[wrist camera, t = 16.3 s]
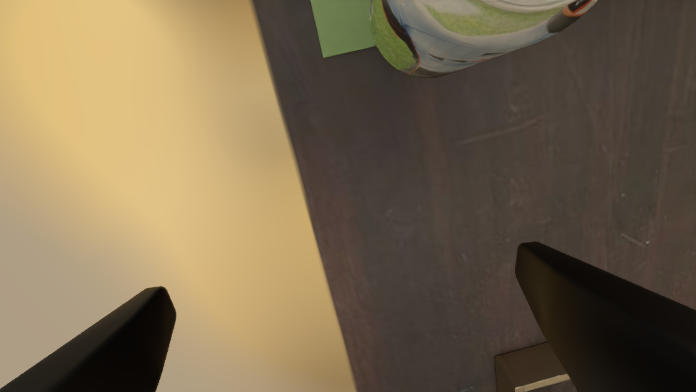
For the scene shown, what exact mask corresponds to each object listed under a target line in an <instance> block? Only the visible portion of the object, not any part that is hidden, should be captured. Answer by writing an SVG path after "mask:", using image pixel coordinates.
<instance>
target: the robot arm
mask: <svg viewBox="0 0 696 392" xmlns="http://www.w3.org/2000/svg"><path fill="white" fill-rule="evenodd" d="M515 274H516V278H517V280H518V282H519V285H520V287H521V289H522V291H523V293H524V295H525V297H526V299H527V302H528V304H529V306H530V308H531V310H532V312H533V314H534V317H535V319H536V321H537V323H538V325H539V327H540V329H541V331H542V333H543V335H544V336H545V338H546V340H547V341H548V343H549V345H550V346H551V348H552V350H553V351H554V353H555V355H556V356H557V358H558V360H559V361H560V363H561V364H562V366H563V368H564V369H565V371H566V373H567V374H568V376H569V378H570V379H571V381H572V383H573V384H574V386H575V387H576V389H577V391H578V392H696V310H694V309H692V308H689V307H687V306H685V305H682V304H680V303H678V302H675V301H673V300H671V299H669V298H666V297H664V296H662V295H659V294H657V293H655V292H652V291H650V290H648V289H645V288H643V287H641V286H638V285H636V284H634V283H632V282H629V281H627V280H625V279H622V278H620V277H618V276H615V275H613V274H611V273H608V272H606V271H604V270H601V269H599V268H597V267H595V266H592V265H590V264H588V263H585V262H583V261H581V260H578V259H576V258H574V257H571V256H569V255H567V254H565V253H562V252H560V251H558V250H555V249H553V248H551V247H548V246H546V245H544V244H541V243H539V242H527V243H521V244H520V245H519V246H518V250H517V258H516V266H515ZM175 321H176V310H175V308H174V305H173V303H172V301H171V299H170V296H169V294H168V292H167V290H166V288H164V287H162V286H161V287H152V288H147V289H145V290H143V291H142V292H140V293H139V294H137V295H136V296H134V297H133V298H132V299H130V300H129V301H127V302H126V303H124V304H123V305H121V306H120V307H118V308H117V309H116V310H114V311H113V312H111V313H110V314H108V315H107V316H105V317H104V318H102V319H101V320H100V321H98V322H97V323H95V324H94V325H92V326H91V327H89V328H88V329H87V330H85V331H84V332H82V333H81V334H79V335H78V336H76V337H75V338H73V339H72V340H71V341H69V342H68V343H66V344H65V345H63V346H62V347H60V348H59V349H57V350H56V351H55V352H53V353H52V354H50V355H49V356H47V357H46V358H44V359H43V360H41V361H40V362H39V363H37V364H36V365H34V366H33V367H31V368H30V369H28V370H27V371H25V372H24V373H23V374H21V375H20V376H19V377H17V378H15V379H14V380H12V381H11V382H10V383H8V384H7V385H5V386H4V387H2V388H1V389H0V392H155V391H156V389H157V386H158V383H159V380H160V377H161V374H162V371H163V367H164V363H165V360H166V356H167V352H168V348H169V344H170V340H171V337H172V333H173V329H174V325H175Z"/></svg>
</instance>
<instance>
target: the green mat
mask: <svg viewBox="0 0 696 392" xmlns="http://www.w3.org/2000/svg"><path fill="white" fill-rule="evenodd" d="M370 4H371V0H311V5H312V9H313V14H314V18H315V23H316V27H317V32H318V36H319V41H320V45H321V50H322V54H323V58H326V57H330V56H334V55H339V54H343V53H347V52H352V51H356V50H361V49H365V48H369V47H374V46H376V43H375V41H374V39H373V36H372V31H371V27H370V15H369V14H370Z"/></svg>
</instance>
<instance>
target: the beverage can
mask: <svg viewBox="0 0 696 392" xmlns="http://www.w3.org/2000/svg"><path fill="white" fill-rule="evenodd" d="M597 1H598V0H371V4H370V14H369V15H370V27H371V31H372V36H373V39H374V41H375V43H376V46H377V48H378V49H379V51H380V53H381V54H382V56H383V57H384V58H385V59H386V60H387V61H388V62H389V63H390V64H391V65H392V66H394V67H395V68H396V69H397V70H399V71H401V72H403V73H405V74H407V75H411V76H414V77H420V78H434V77H439V76H443V75H447V74H450V73H452V72H455V71H458V70H461V69H464V68H467V67H469V66H472V65H475V64H478V63H481V62H484V61H486V60H489V59H492V58H495V57H498V56H501V55H504V54H506V53H509V52H512V51H515V50H518V49H521V48H523V47H526V46H529V45H532V44H535V43H538V42H540V41H542V40H544V39H546V38H548V37H551V36H553V35H555V34H557V33H559V32H560V31H562V30H563V29H565V28H566V27H568V26H569V25H571V24H572V23H574V22H575V21H576V20H578V19H579V18H580V17H581V16H582V15H583V14H584V13H585V12H586V11H587V10H589V9H590V8H591V7H592V6H593V5H594V4H595V3H596V2H597Z"/></svg>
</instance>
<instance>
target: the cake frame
mask: <svg viewBox="0 0 696 392" xmlns="http://www.w3.org/2000/svg"><path fill="white" fill-rule="evenodd" d="M495 369H496V381H497V392H523V391H524V392H525V391H529V390H533V389H536V388H540V387H544V386H547V385H551V384H555V383H558V382H562V381H566V380H569V379H570V378H569V376H568V374H567V373H566V371H565V369H564V368H563V366H562V364H561V363H560V361H559V360H558V358H557V356H556V355H555V353H554V351H553V350H552V348H551V346H550V345H549V343H548V342H547V343H543V344H540V345H536V346H532V347H528V348H525V349H521V350H517V351H513V352H510V353H506V354H502V355H499V356H495Z"/></svg>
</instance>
